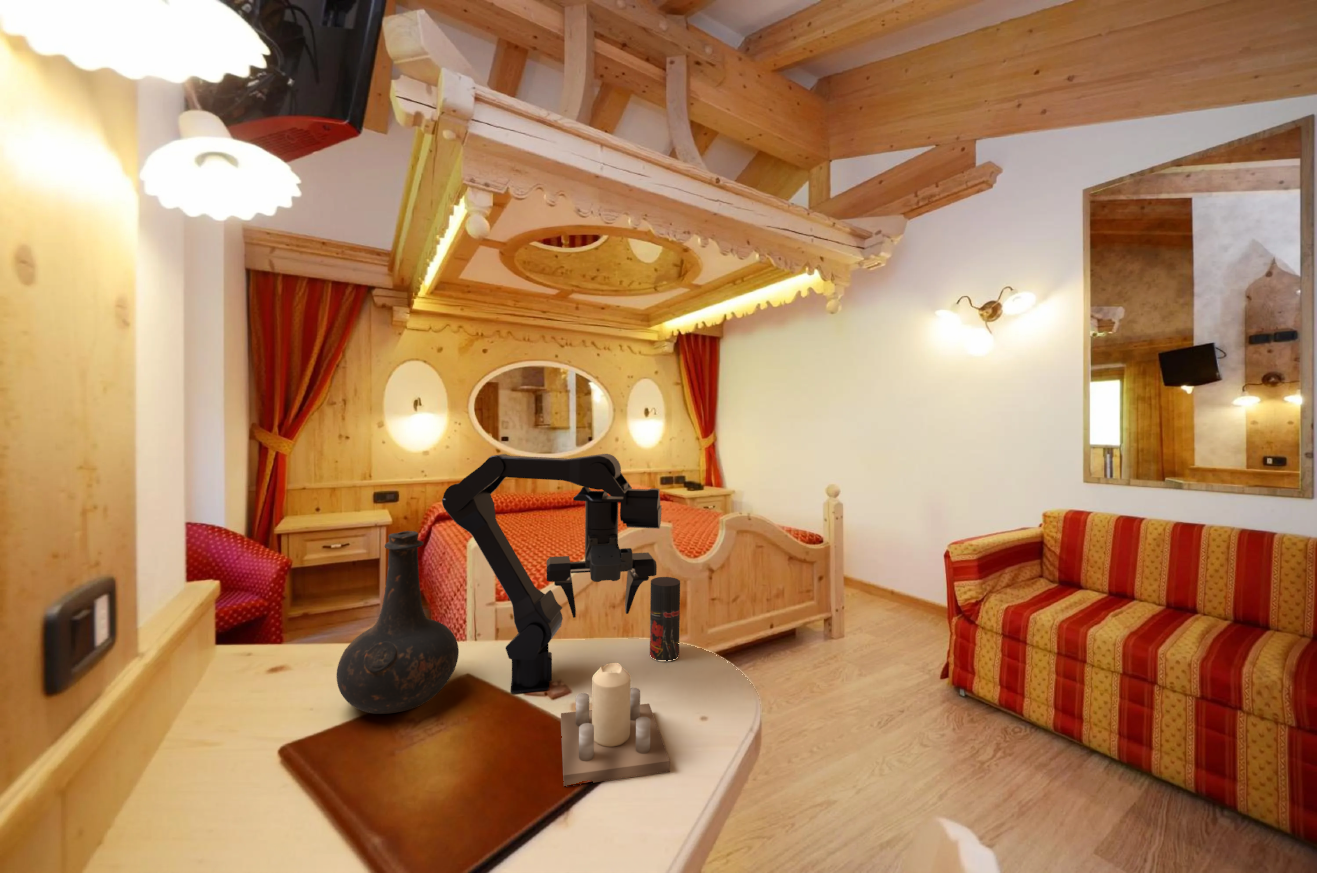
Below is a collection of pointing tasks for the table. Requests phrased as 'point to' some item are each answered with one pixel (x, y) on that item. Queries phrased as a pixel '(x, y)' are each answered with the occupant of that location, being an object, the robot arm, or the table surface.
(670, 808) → the table surface
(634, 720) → the peg holder
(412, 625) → the glass bottle
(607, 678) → the candle
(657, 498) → the robot arm
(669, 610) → the deodorant
